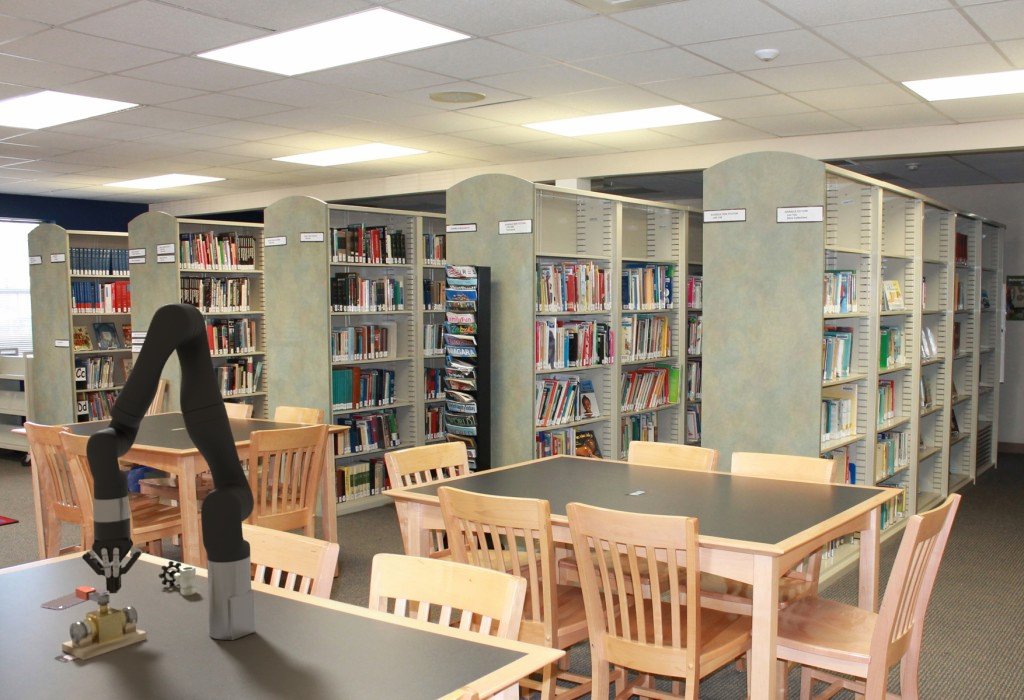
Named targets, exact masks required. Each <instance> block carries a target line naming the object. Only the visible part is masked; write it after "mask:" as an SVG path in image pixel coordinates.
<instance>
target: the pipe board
mask: <svg viewBox="0 0 1024 700" xmlns="http://www.w3.org/2000/svg"><path fill="white" fill-rule="evenodd" d="M122 632H123V637H120V638H117V639H114V640H111V641H107V642H104V643H101V644H98V643H96V642H93V641H92V635H88V636H87V638H84V639H81V640H80V642H79V643H74V642H73V641H72V640H69V641H65V642H63V643H61V650H62V651H63V652H66V654H67V653H68V654H70V655H73V656H75V657H77V658H79V659H81V660H88V659H91V658H94V657H97V656H99V655H102V654H105V653H108V652H111V651H114V650H117V649H120V648H124V647H126V646H131V645H132V644H135V643H138V642H141V641H144V640H147V632H146V631H144V630H142V629H139V628H137V623H136V622H135V623H132V624H130V622H129V623H126V627H125V628H124V629H122Z"/></svg>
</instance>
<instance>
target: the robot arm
mask: <svg viewBox="0 0 1024 700" xmlns="http://www.w3.org/2000/svg"><path fill="white" fill-rule="evenodd" d="M206 325H207V324H206V320H205V317H204V315H203V314H202V312H201V311H200V309H199V308H197V307H196V306H194V305H193V304H189V303H182V302H181V303H180V302H179V303H177V302H175V303H174V302H171V303H166V304H164V305H163V304H162V306H160V307H158V308H157V310H156V311H155V312H154V314H153V316H152V318H151V321H150V323H149V325H148V329H147V332H146V335H145V338H144V340H143V343H142V346H141V348H140V350H139V353H138V356H137V358H136V360H135V363H134V364H133V367H132V368H131V371H130V373H129V375H128V377H127V379H126V381H125V383H124V384H123V386H122V388H121V389H120V391H119V393H118V395H117V397H116V399H115V400H114V402H113V404H112V406H111V409H110V412H109V413H110V414H109V415H110V418H111V420H110V422H109V424H108V426H107V427H106V428H105V429H100V430H97V431H95V432H94V433H92V434H91V435H89V438H88V440H87V442H86V451H85V452H86V454H85V455H86V458H87V462H88V467H89V470H90V473H91V477H92V479H93V505H92V506H93V508H92V512H93V513H92V515H93V516H92V517H93V518H92V519H93V522H92V523H93V543H92V545H91V549H90V550H89V551H86V552H85V553H84V554H82V556H81V557H82V559H83V560H84V562H85V563H86V564H87V565H88V566H89V567H90V568H91V569H92V570H93V572H95V574H96V575H98V576H103V577H105V585H106V586H105V587H106V588H105V590H107V591H108V593H109V595H111V594H117V593H118V592H119V591H120V590H121V588H122V575H126V574H127V573H128V572H129V571H130V570H131V568H132V567H133V566H134V565H135V563H136V562H137V561H138V559H139V558H140V557H141V555H142V554H143V553H144V550H143V549H142V548H138V547H136V546H134V542H133V540H132V538H131V535H132V534H131V508H130V507H131V506H130V501H129V483H128V482H129V481H128V475H127V472H126V471H124V470H123V469H121V468H120V464H119V458H121V457H123V456H125V455H126V454H128V452H130V450H131V448H132V447H133V445H134V443H135V442H136V438H137V435H138V432H139V429H140V426H141V422H142V420H143V419H144V418H145V416H146V414H147V412H148V411H149V409H150V407H151V406H152V404H153V402H154V399H155V397H156V395H157V394H158V393H157V392H158V390H159V387H160V386H159V385H160V381H161V377H162V373H163V370H164V367H165V365H166V363H167V362H168V360H169V358H171V355H173V353H174V352H176V356H177V357H178V361H179V366H180V373H181V374H180V391H179V402H180V403H179V405H180V411H181V414H182V418H183V421H184V426H185V429H186V432H187V434H188V437H189V438H190V440H191V442H192V444H193V445H194V446H195V448H196V450H197V451H198V452H199V454H200V455H201V456H202V457H203V459H204V461H205V462H206V464H207V466H208V468H209V470H210V473H211V474H210V475H211V478H212V482H213V486H214V489H213V490H211V491H209V492H208V493H207V494H206V495H205V496H204V498H203V500H202V503H201V510H200V517H201V518H200V521H201V533H202V544H203V547H204V549H205V552H206V558H207V562H206V564H207V565H206V566H207V596H208V598H207V599H208V623H209V626H208V627H209V631H208V632H209V636H210V638H213V639H214V640H215V639H216V640H230V641H234V640H237V639H239V638H243V637H245V636H248V635H251V634H254V633H255V632H256V623H255V621H256V620H255V616H256V615H255V614H256V613H255V591H254V590H252V571H251V570H252V565H251V564H252V563H251V562H252V561H251V544H250V542H249V540H246V539H244V535H243V522H244V521H246V520H247V519H248V518H249V517H250V516H251V514H252V513H253V510H254V507H255V499H254V495H253V492H252V489H251V486H250V484H249V480H248V478H247V476H246V474H245V471H244V468H243V466H242V463H241V461H240V457H239V454H238V450H237V447H236V445H237V444H236V443H235V438H234V436H233V431H232V429H231V424H230V419H229V415H228V411H227V408H226V405H225V401H224V398H223V394H222V392H221V388H220V387H221V386H220V383H219V380H218V377H217V374H216V370H215V367H214V363H213V359H212V354H211V349H210V343H209V337H208V336H209V335H208V330H207V326H206ZM129 552H130V553H129ZM128 554H129V557H130V559H129V560H128V561H127V563H126V564H125V565H124V566H123V563H124V559H125V558H126V556H127V555H128ZM97 557H98V558H99V559H100V560H101V561H102V563H101V561H100V560H98V559H97Z"/></svg>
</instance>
